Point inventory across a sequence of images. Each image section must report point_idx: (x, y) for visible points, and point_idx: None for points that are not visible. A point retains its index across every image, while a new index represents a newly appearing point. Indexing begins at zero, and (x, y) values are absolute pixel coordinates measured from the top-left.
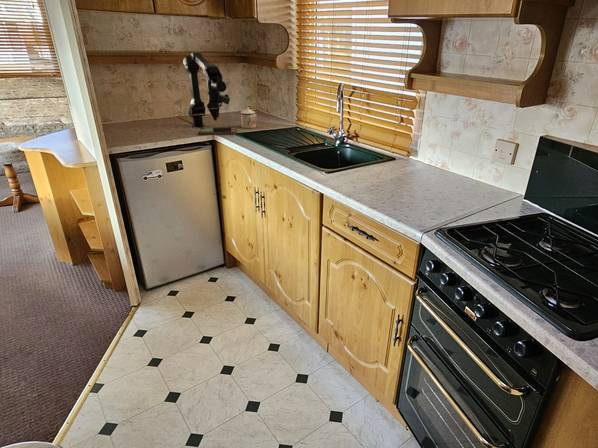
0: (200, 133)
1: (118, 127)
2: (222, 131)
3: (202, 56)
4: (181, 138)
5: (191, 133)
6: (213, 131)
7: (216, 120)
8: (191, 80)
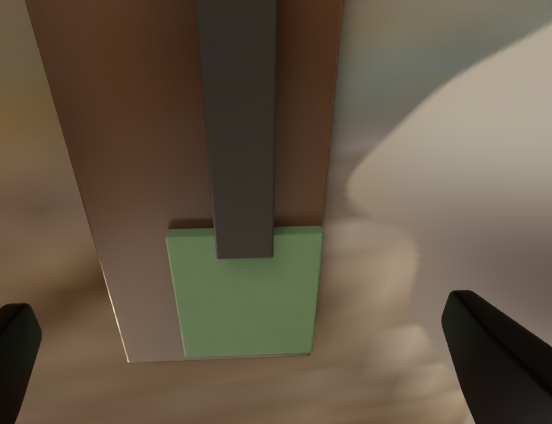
0: None
1: None
2: (285, 94)
3: None
4: (412, 409)
5: (219, 388)
6: None
7: (467, 291)
8: None
